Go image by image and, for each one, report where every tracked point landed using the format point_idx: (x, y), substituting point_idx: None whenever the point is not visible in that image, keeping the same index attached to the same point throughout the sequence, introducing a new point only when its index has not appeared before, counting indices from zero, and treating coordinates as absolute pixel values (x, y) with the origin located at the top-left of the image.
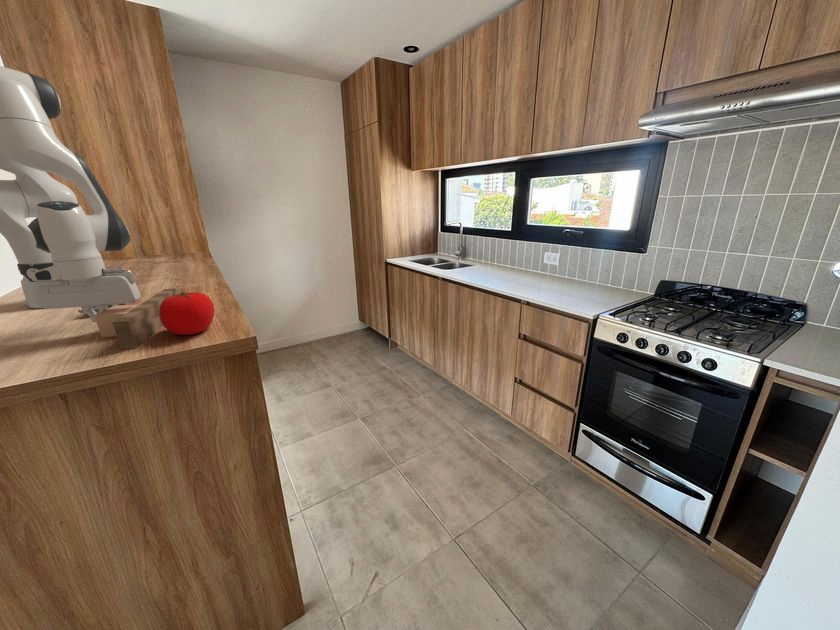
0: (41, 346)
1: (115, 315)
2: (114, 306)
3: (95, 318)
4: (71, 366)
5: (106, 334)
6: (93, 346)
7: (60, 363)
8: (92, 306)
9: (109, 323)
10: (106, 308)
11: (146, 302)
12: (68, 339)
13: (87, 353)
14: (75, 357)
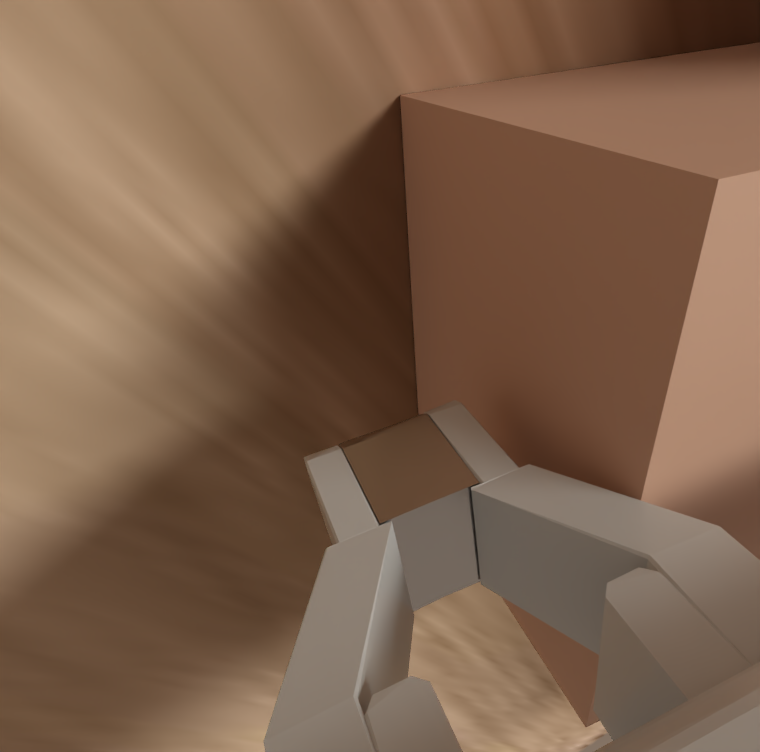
0: (6, 734)
1: None
2: (732, 284)
3: (556, 671)
4: (540, 734)
5: None
6: (491, 602)
7: (467, 746)
8: (453, 742)
9: None
10: (668, 532)
11: None
12: (95, 584)
13: (523, 659)
14: (492, 699)
